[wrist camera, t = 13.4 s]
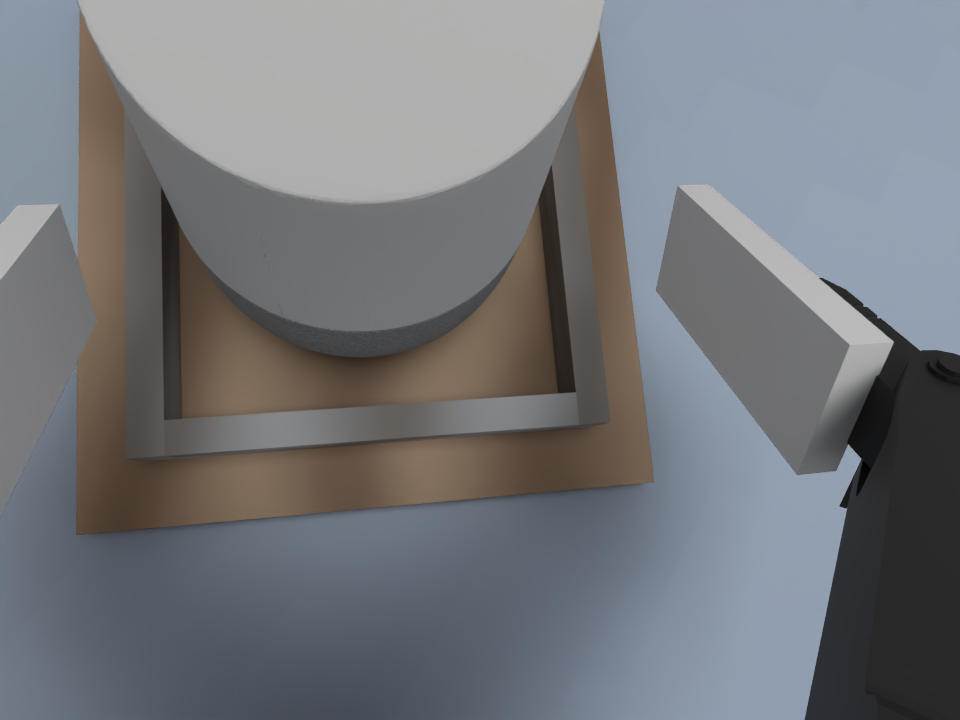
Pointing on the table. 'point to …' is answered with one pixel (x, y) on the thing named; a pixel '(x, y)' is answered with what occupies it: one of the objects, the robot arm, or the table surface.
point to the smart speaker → (350, 148)
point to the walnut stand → (346, 360)
